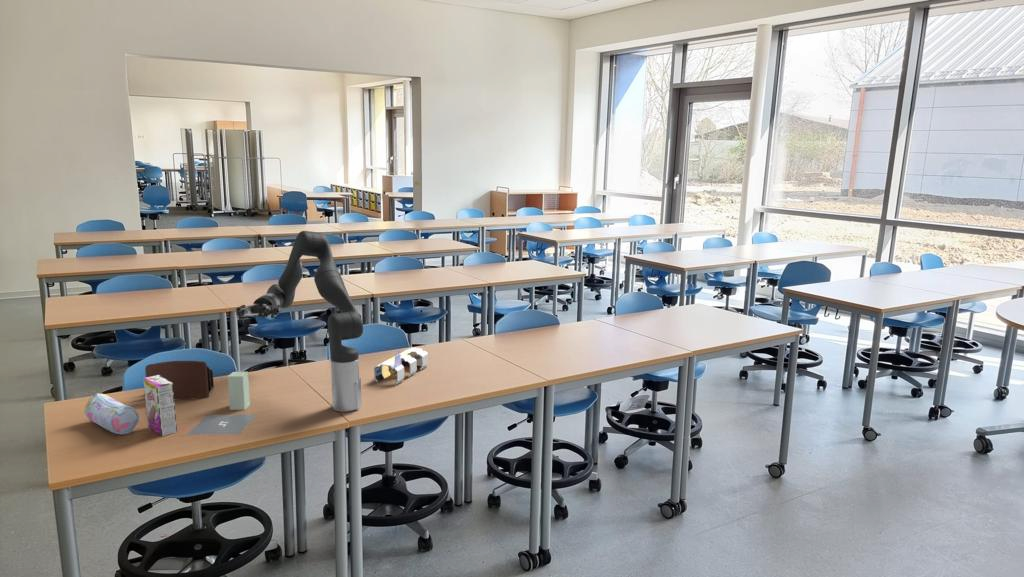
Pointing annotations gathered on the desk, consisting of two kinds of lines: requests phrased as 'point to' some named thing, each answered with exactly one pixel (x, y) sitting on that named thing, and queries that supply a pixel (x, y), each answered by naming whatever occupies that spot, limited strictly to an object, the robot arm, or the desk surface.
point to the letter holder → (185, 377)
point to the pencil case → (111, 414)
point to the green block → (238, 390)
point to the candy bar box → (160, 405)
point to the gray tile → (222, 424)
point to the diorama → (401, 364)
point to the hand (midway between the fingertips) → (251, 314)
